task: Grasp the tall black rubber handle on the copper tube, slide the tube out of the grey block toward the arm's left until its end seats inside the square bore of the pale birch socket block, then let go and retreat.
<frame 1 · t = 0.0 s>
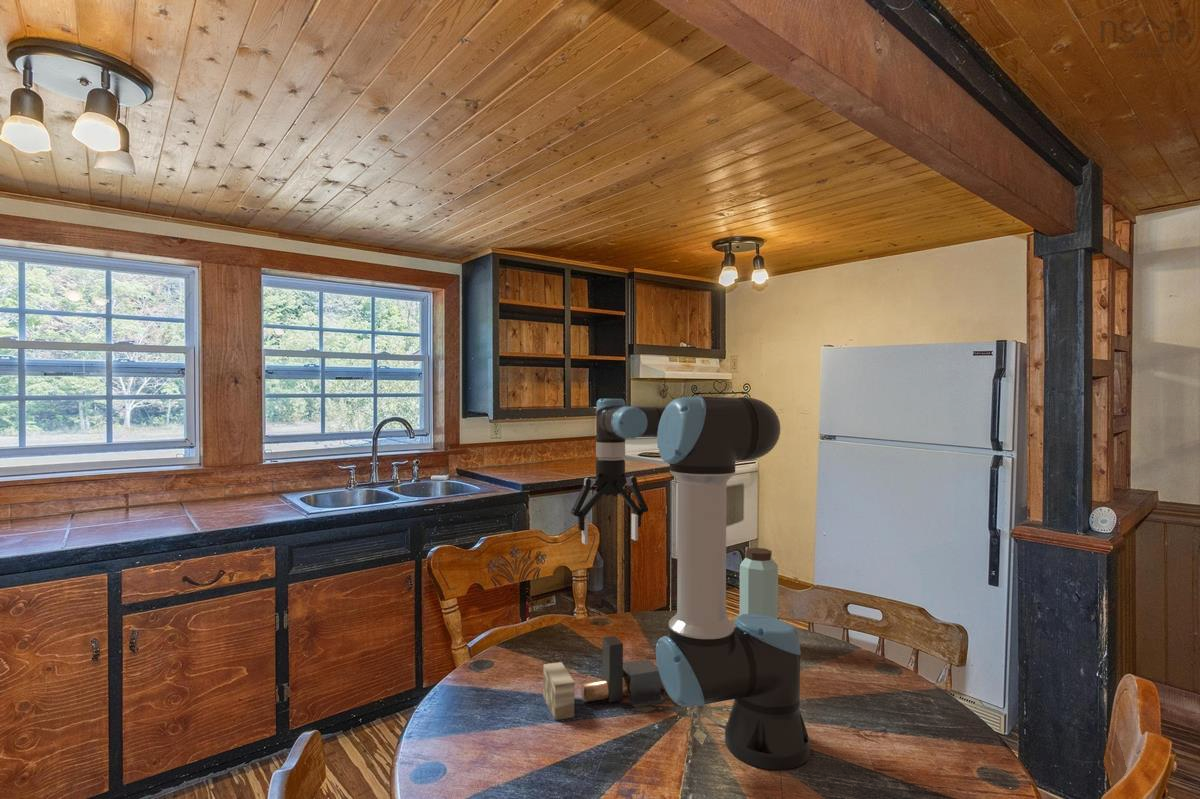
hand: (609, 541, 154), 28 cm above the table, fingers open, 13 cm apart
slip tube: (625, 666, 130), point 6 cm above the table, slide at 0.0 cm
socket block: (558, 706, 125), on the table
water bottle: (758, 646, 157), on the table
grey block: (640, 693, 131), on the table
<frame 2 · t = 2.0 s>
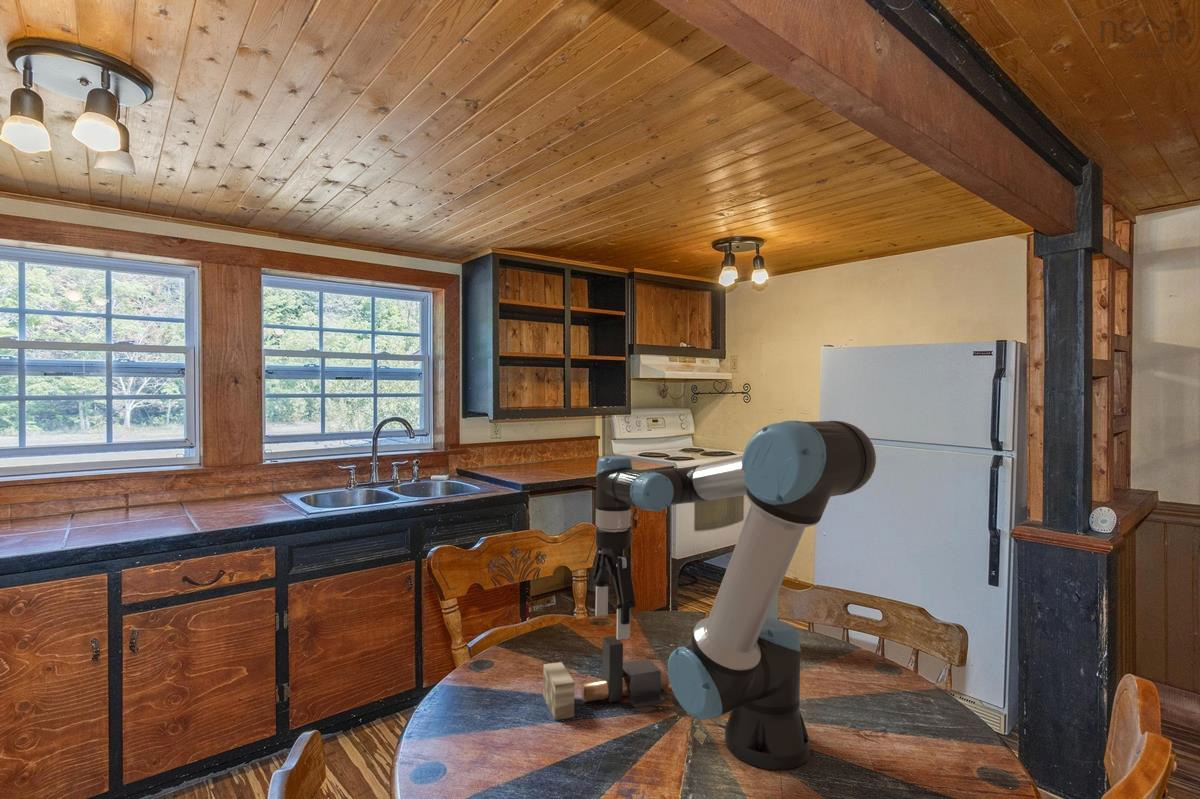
hand: (611, 626, 129), 15 cm above the table, fingers open, 13 cm apart
nothing on the table moved.
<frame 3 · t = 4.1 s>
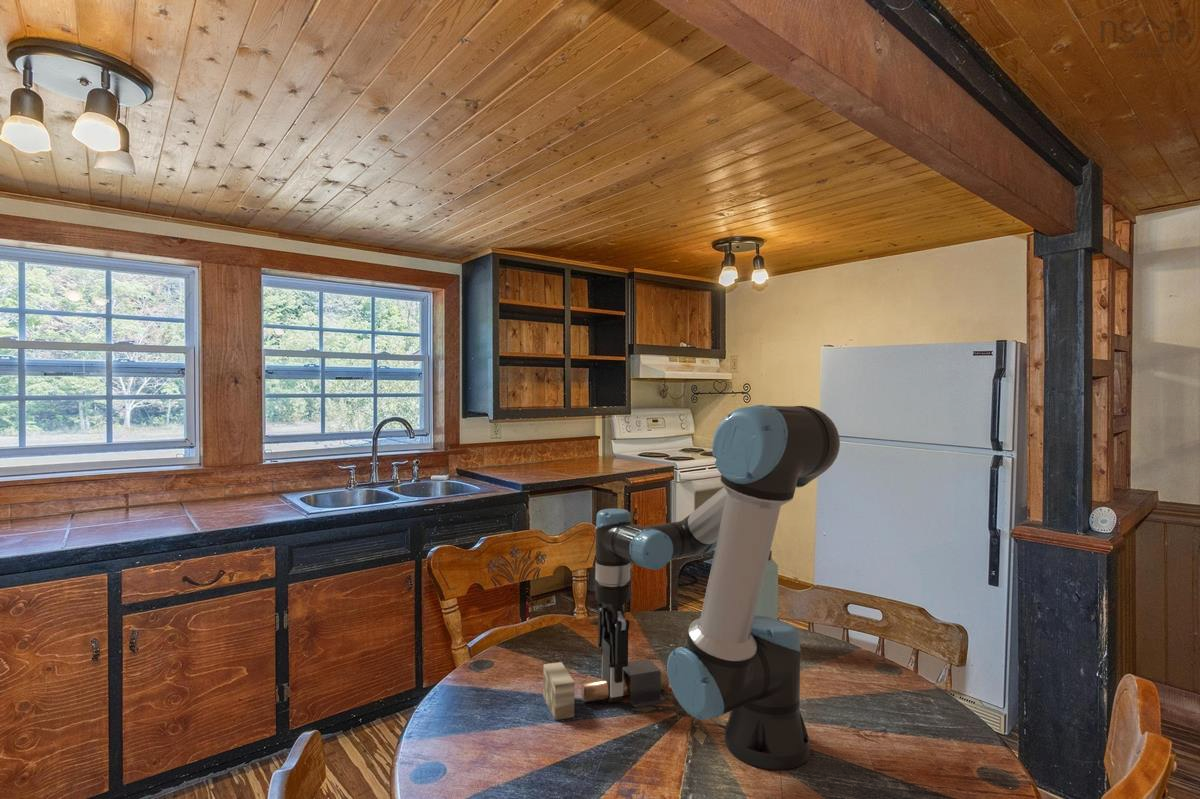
hand: (612, 689, 129), 2 cm above the table, fingers closed on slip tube, 5 cm apart
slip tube: (625, 666, 130), point 6 cm above the table, slide at 0.0 cm, touching gripper
everything else where it was.
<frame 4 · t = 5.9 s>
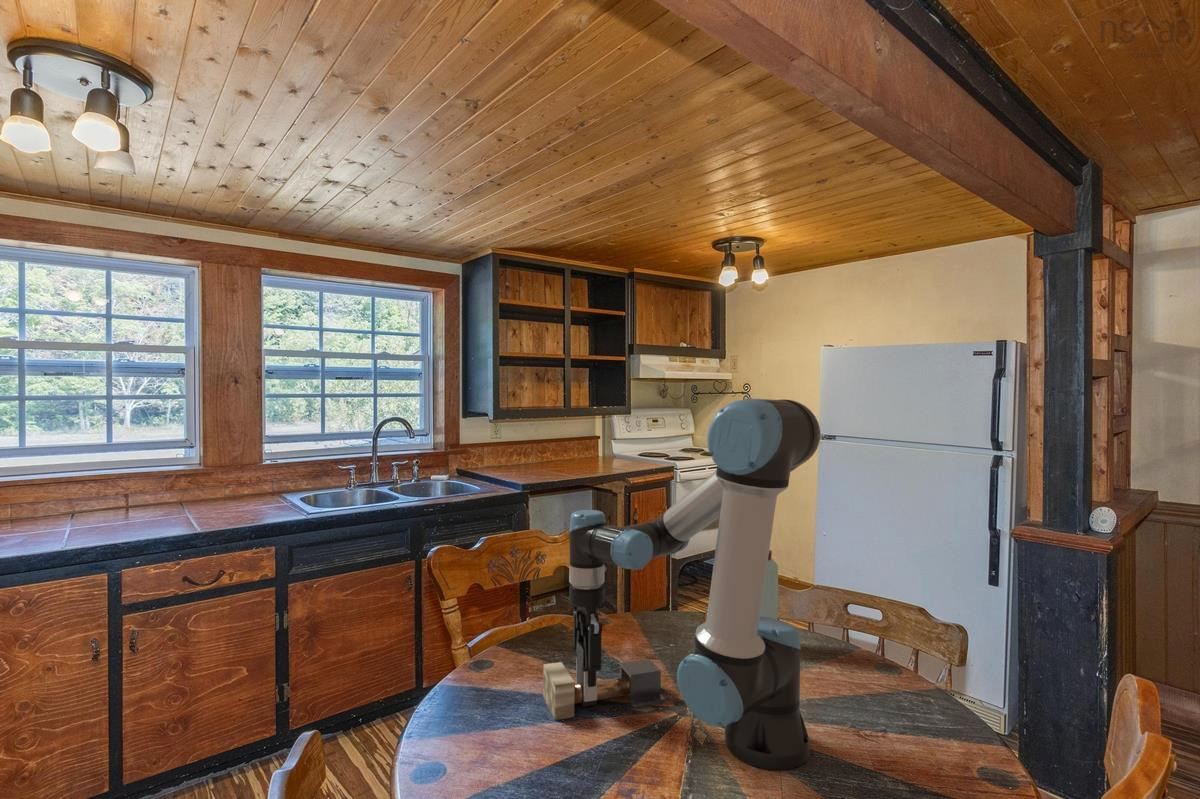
hand: (586, 694, 127), 2 cm above the table, fingers closed on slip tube, 5 cm apart
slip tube: (599, 670, 128), point 6 cm above the table, slide at 5.8 cm, touching gripper
everything else where it was.
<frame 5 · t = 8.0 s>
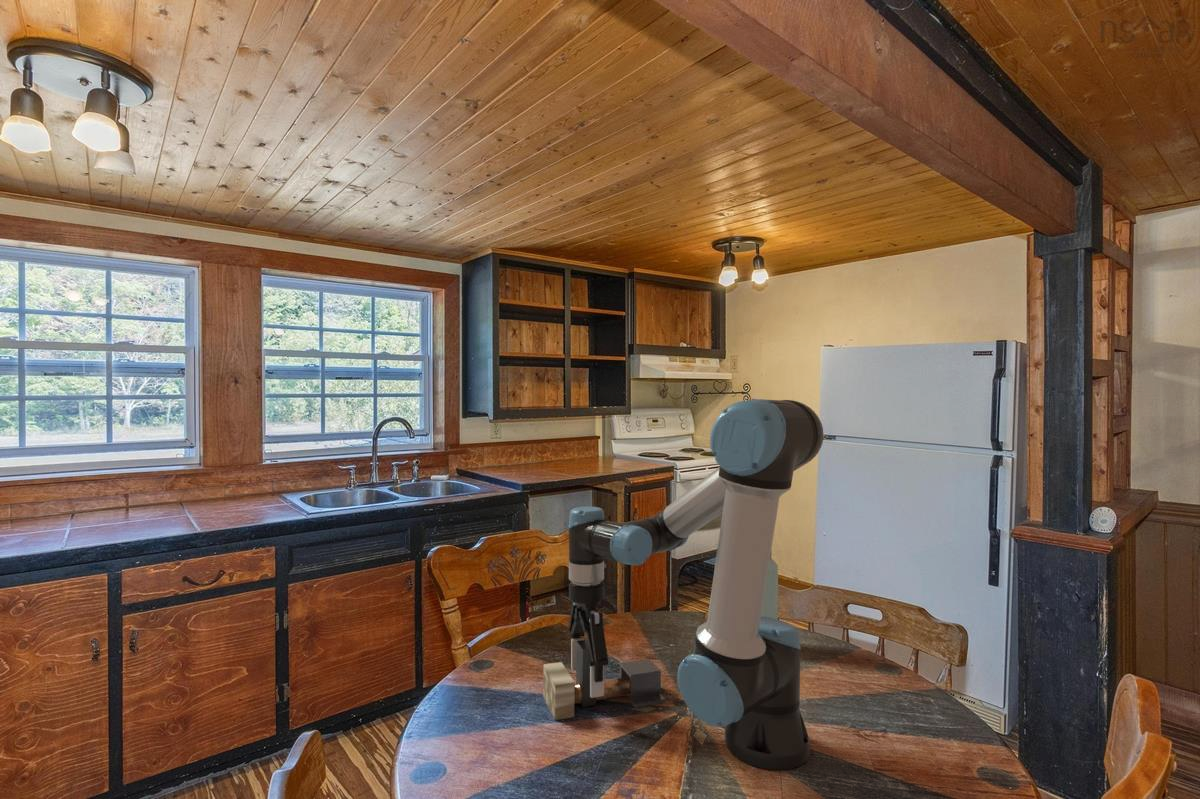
hand: (586, 681, 127), 4 cm above the table, fingers open, 13 cm apart
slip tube: (599, 670, 128), point 6 cm above the table, slide at 6.0 cm
everything else where it was.
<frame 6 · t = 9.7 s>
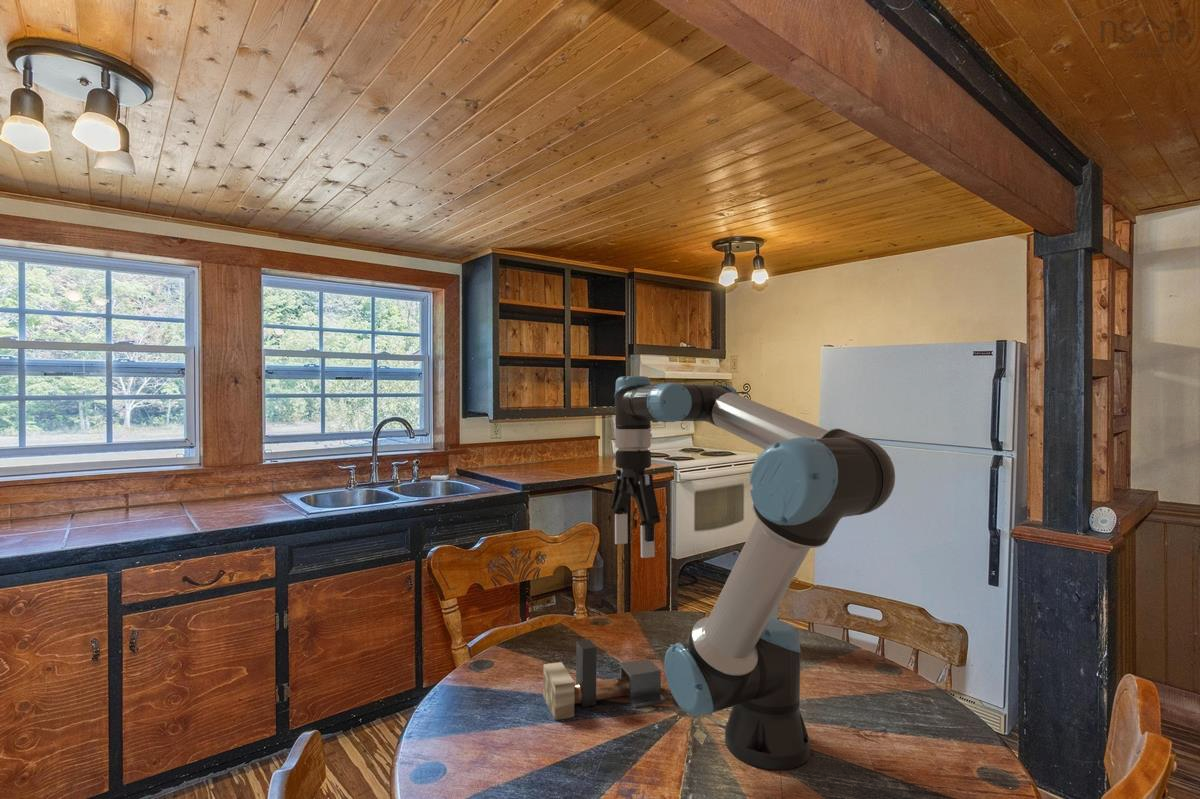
hand: (633, 550, 126), 32 cm above the table, fingers open, 13 cm apart
nothing on the table moved.
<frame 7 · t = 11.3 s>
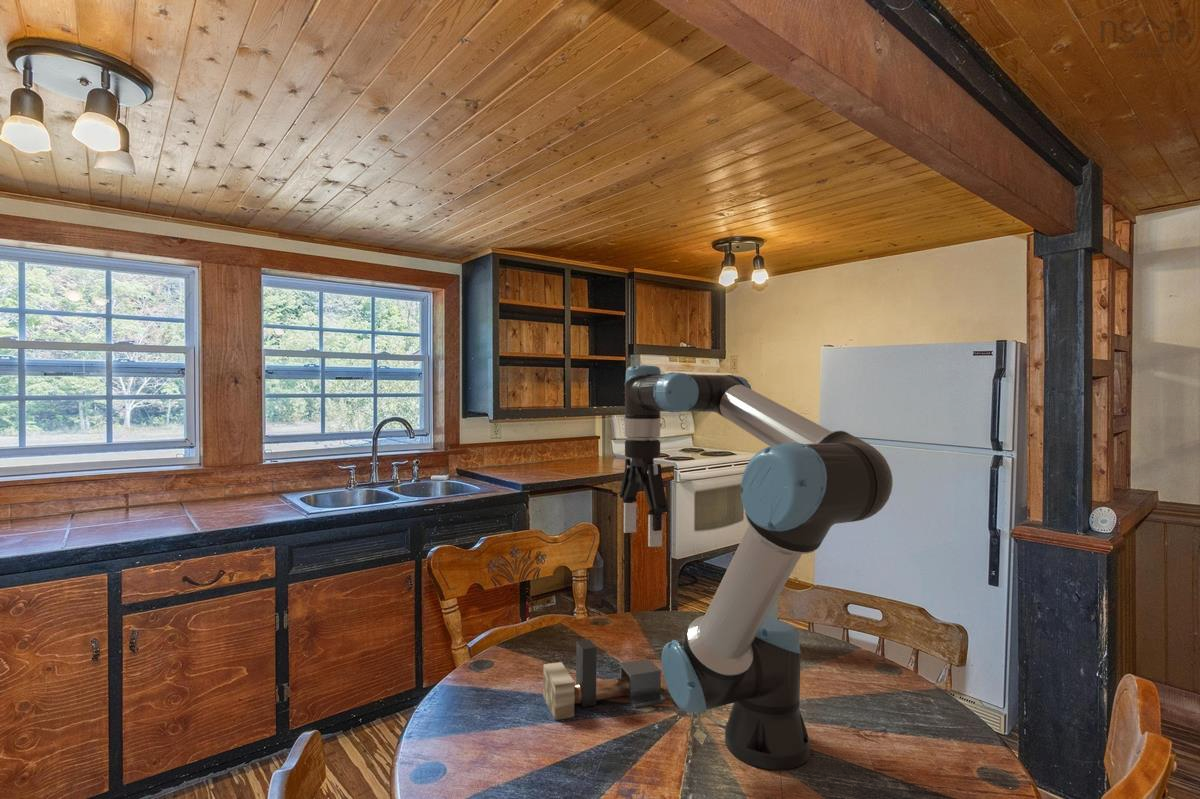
hand: (641, 539, 127), 35 cm above the table, fingers open, 13 cm apart
nothing on the table moved.
at the end: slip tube slide at 6.0 cm; the gripper is holding nothing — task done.
